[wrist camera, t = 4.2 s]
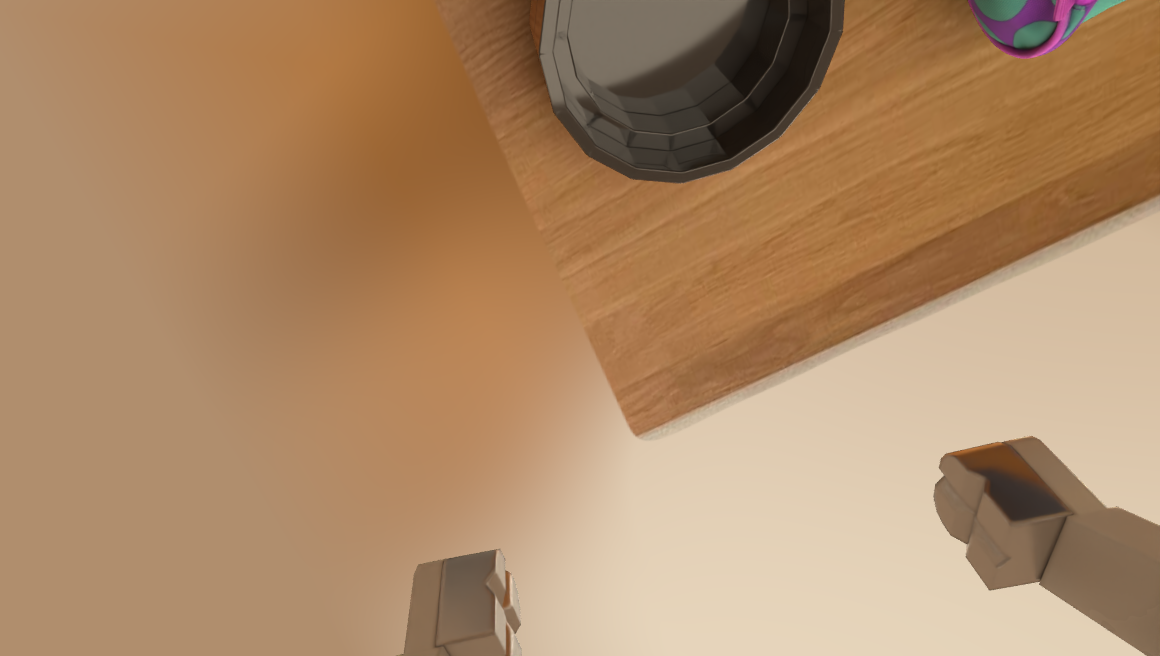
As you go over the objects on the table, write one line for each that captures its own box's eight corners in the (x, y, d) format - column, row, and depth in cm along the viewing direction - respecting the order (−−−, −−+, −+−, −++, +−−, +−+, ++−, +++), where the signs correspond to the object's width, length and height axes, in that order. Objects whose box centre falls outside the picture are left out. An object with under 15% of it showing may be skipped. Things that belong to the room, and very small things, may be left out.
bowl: (566, 162, 39) (580, 212, 35) (493, -111, 29) (499, -91, 25) (793, 98, 38) (837, 140, 34) (794, -202, 29) (856, -199, 24)
